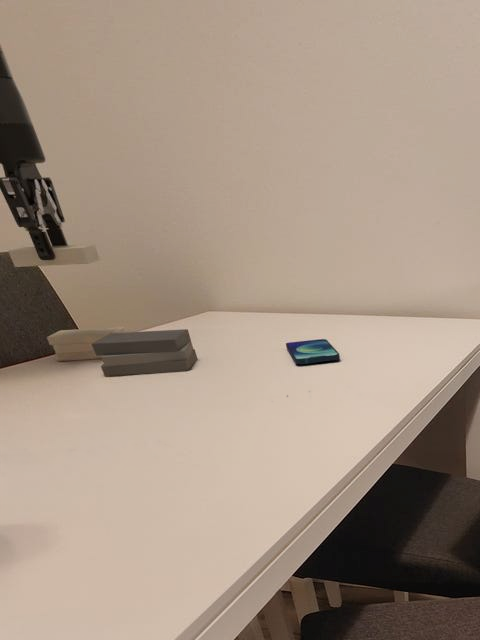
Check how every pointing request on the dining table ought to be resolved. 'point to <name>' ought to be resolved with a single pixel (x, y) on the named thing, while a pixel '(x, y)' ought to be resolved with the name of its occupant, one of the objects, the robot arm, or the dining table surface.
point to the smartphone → (312, 351)
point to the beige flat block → (62, 256)
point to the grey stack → (145, 352)
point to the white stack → (78, 342)
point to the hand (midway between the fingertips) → (56, 257)
